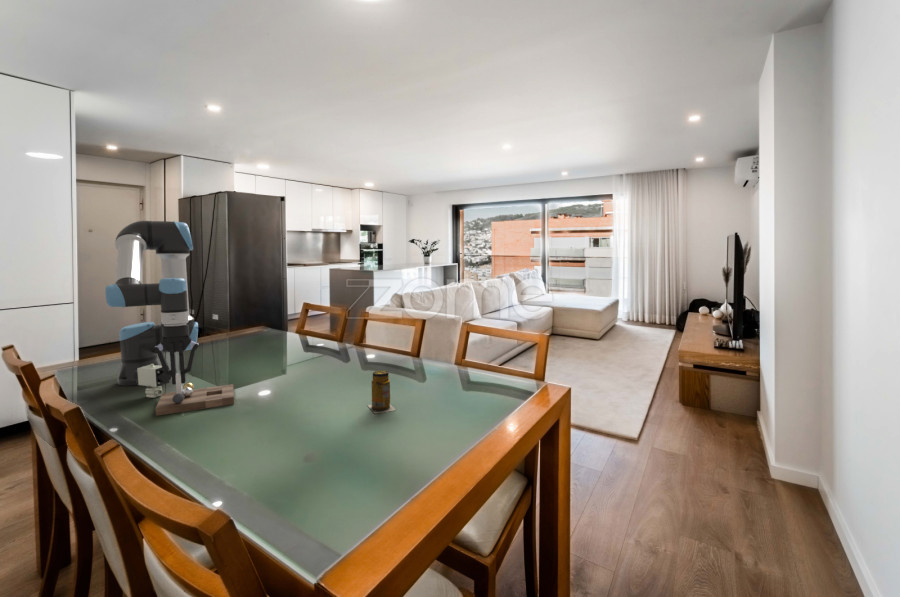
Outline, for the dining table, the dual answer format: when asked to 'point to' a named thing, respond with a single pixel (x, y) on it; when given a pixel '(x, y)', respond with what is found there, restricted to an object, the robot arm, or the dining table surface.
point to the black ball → (178, 398)
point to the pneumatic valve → (152, 379)
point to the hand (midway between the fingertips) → (179, 393)
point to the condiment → (380, 392)
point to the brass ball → (188, 385)
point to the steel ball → (187, 392)
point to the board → (196, 400)
